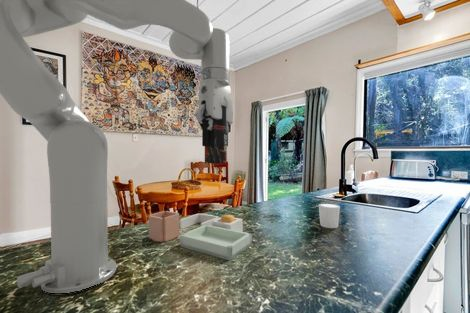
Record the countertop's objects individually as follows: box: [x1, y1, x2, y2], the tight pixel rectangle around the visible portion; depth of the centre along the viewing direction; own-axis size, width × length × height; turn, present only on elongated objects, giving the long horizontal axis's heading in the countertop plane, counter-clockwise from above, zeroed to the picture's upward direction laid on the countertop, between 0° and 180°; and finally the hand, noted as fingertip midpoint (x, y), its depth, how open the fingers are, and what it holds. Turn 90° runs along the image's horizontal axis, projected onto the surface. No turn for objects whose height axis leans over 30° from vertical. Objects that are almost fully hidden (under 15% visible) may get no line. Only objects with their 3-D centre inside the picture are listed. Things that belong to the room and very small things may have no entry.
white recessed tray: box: [179, 212, 244, 232], centre depth 76 cm, size 10×19×4 cm, turn 58°
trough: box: [179, 225, 253, 261], centre depth 62 cm, size 11×16×3 cm
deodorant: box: [204, 105, 228, 164], centre depth 62 cm, size 6×6×15 cm
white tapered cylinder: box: [318, 203, 341, 229], centre depth 79 cm, size 7×7×7 cm
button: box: [220, 214, 235, 223], centre depth 72 cm, size 4×4×4 cm
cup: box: [148, 210, 180, 243], centre depth 69 cm, size 7×7×7 cm
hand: (215, 145), depth 62 cm, fingers closed on deodorant, 5 cm apart
